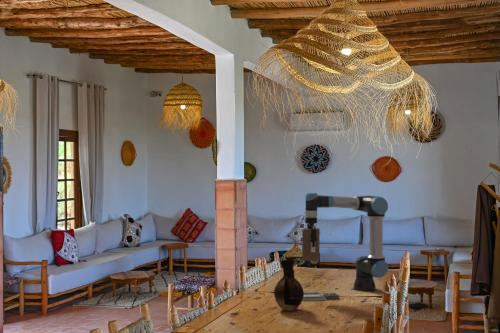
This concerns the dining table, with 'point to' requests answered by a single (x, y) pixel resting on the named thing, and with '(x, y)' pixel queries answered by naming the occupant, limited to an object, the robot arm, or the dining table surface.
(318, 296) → the shallow gray tray
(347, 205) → the robot arm
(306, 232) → the wooden block
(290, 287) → the ceramic vessel
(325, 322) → the dining table surface
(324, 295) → the button housing
